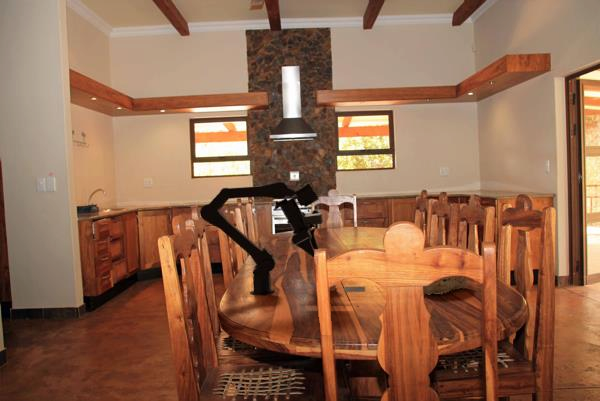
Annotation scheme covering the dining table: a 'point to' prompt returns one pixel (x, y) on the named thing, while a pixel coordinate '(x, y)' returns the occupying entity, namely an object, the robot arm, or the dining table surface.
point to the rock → (446, 285)
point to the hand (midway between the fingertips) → (315, 252)
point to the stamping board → (354, 289)
